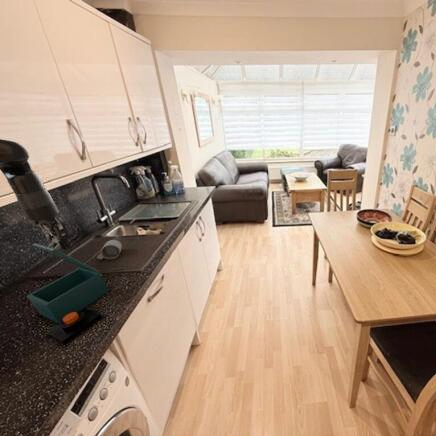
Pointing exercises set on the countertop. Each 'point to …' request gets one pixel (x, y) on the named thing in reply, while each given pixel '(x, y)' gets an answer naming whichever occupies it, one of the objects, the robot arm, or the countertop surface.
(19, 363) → the countertop surface
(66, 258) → the bin lid
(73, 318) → the button
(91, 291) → the bin
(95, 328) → the countertop surface
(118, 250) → the ceramic mug
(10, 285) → the countertop surface
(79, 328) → the panel
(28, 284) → the countertop surface
